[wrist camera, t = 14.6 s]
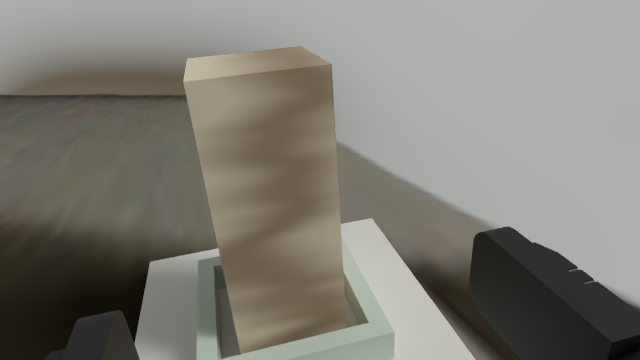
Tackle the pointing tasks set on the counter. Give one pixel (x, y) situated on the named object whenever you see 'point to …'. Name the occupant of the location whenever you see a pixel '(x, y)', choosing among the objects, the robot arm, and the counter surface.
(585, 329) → the robot arm
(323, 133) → the beige square block
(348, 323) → the base plate
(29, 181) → the counter surface
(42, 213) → the counter surface
